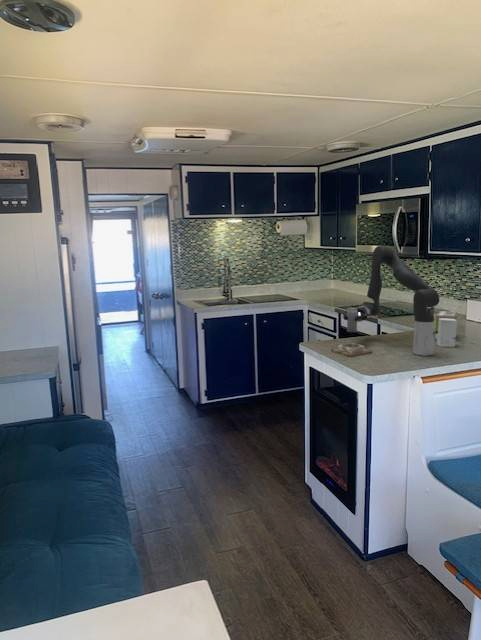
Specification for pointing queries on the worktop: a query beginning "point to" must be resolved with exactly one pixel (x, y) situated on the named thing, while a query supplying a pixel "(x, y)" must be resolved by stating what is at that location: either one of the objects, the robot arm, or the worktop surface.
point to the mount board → (351, 350)
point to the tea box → (448, 316)
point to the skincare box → (446, 332)
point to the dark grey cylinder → (351, 319)
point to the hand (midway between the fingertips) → (350, 318)
